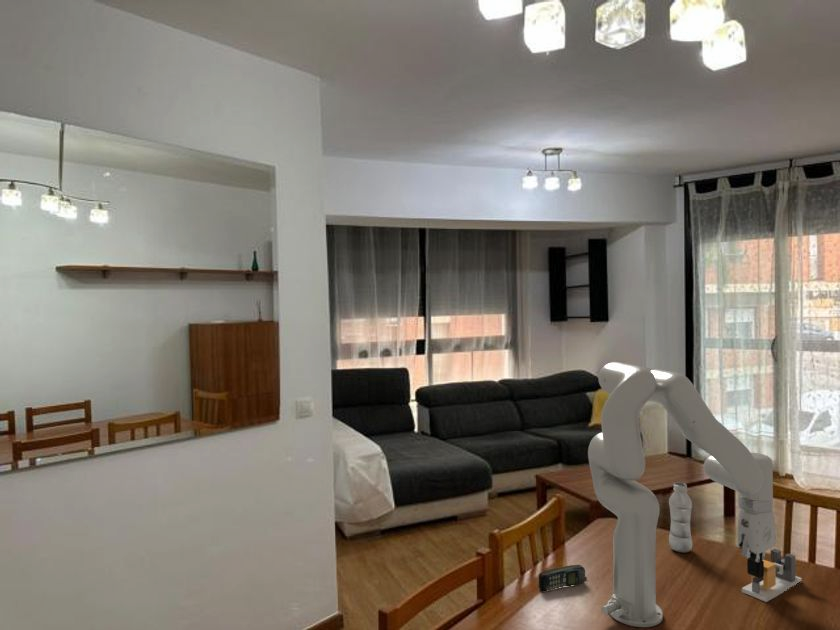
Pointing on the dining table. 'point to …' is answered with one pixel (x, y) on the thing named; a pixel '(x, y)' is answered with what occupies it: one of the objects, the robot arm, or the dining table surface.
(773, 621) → the dining table surface
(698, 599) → the dining table surface
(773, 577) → the orange bracket
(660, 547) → the dining table surface
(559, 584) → the mobile phone
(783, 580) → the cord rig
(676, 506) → the plastic bottle
